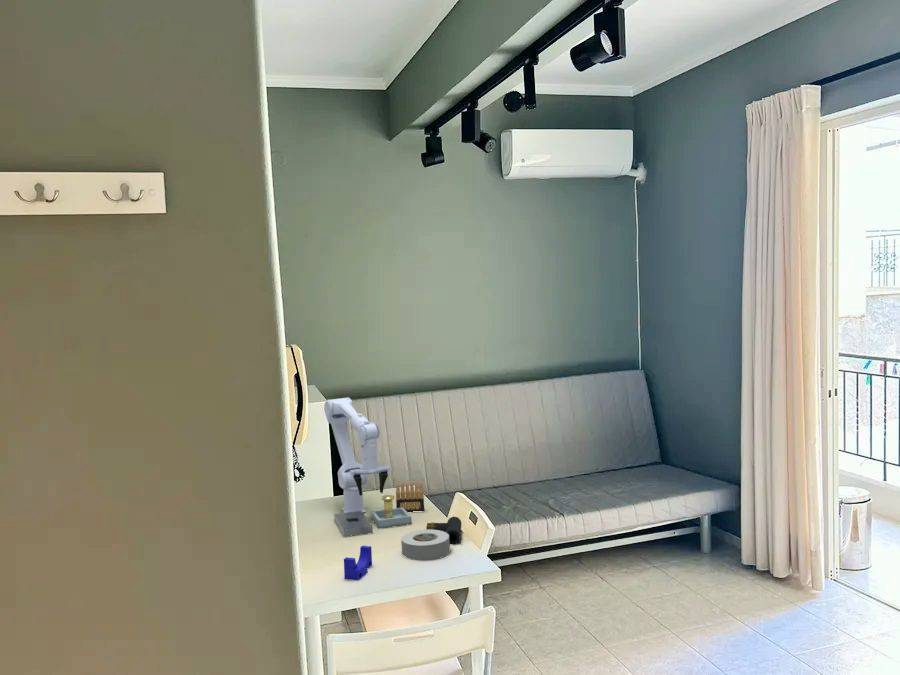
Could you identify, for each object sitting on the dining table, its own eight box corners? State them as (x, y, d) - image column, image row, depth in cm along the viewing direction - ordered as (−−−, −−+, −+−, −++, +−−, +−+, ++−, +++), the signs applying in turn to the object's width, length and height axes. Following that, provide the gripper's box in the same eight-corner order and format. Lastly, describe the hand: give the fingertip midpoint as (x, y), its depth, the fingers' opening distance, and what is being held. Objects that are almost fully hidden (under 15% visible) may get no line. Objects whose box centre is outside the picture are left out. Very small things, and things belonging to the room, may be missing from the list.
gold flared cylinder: (381, 519, 277) (380, 495, 276) (393, 517, 278) (392, 494, 278) (384, 522, 273) (383, 498, 272) (396, 521, 274) (395, 497, 273)
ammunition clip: (424, 510, 289) (423, 479, 288) (424, 512, 287) (423, 480, 286) (396, 511, 288) (395, 480, 288) (396, 513, 287) (395, 481, 286)
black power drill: (425, 529, 250) (428, 516, 264) (425, 545, 250) (428, 531, 265) (460, 529, 249) (461, 516, 264) (460, 545, 249) (461, 531, 264)
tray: (371, 519, 280) (371, 511, 279) (403, 515, 283) (402, 507, 283) (378, 528, 268) (378, 520, 268) (411, 524, 272) (411, 516, 272)
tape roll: (410, 564, 234) (410, 547, 233) (395, 548, 248) (395, 533, 247) (457, 556, 239) (456, 540, 239) (439, 541, 253) (439, 526, 253)
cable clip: (358, 580, 221) (357, 560, 221) (344, 579, 223) (343, 559, 223) (376, 566, 233) (375, 546, 232) (363, 564, 234) (362, 545, 234)
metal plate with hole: (334, 520, 280) (334, 514, 279) (361, 517, 283) (361, 510, 282) (343, 537, 261) (343, 529, 260) (372, 533, 264) (372, 526, 263)
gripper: (351, 461, 271) (353, 498, 272) (391, 457, 276) (392, 493, 276) (348, 457, 278) (349, 493, 279) (387, 453, 282) (388, 489, 283)
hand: (371, 493), depth 278 cm, fingers open, 7 cm apart
